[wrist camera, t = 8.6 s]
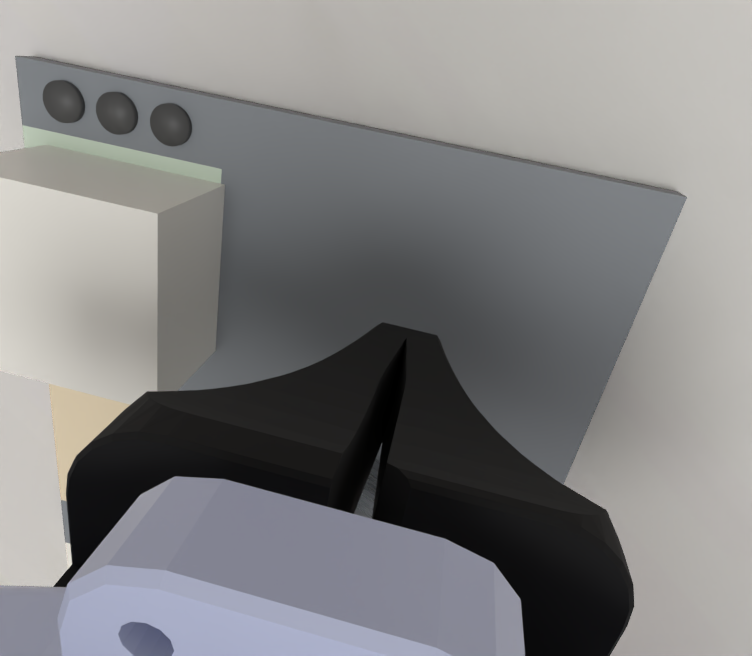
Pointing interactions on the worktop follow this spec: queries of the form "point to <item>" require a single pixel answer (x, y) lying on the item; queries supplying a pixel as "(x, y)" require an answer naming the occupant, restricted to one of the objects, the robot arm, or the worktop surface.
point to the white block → (106, 272)
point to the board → (377, 250)
